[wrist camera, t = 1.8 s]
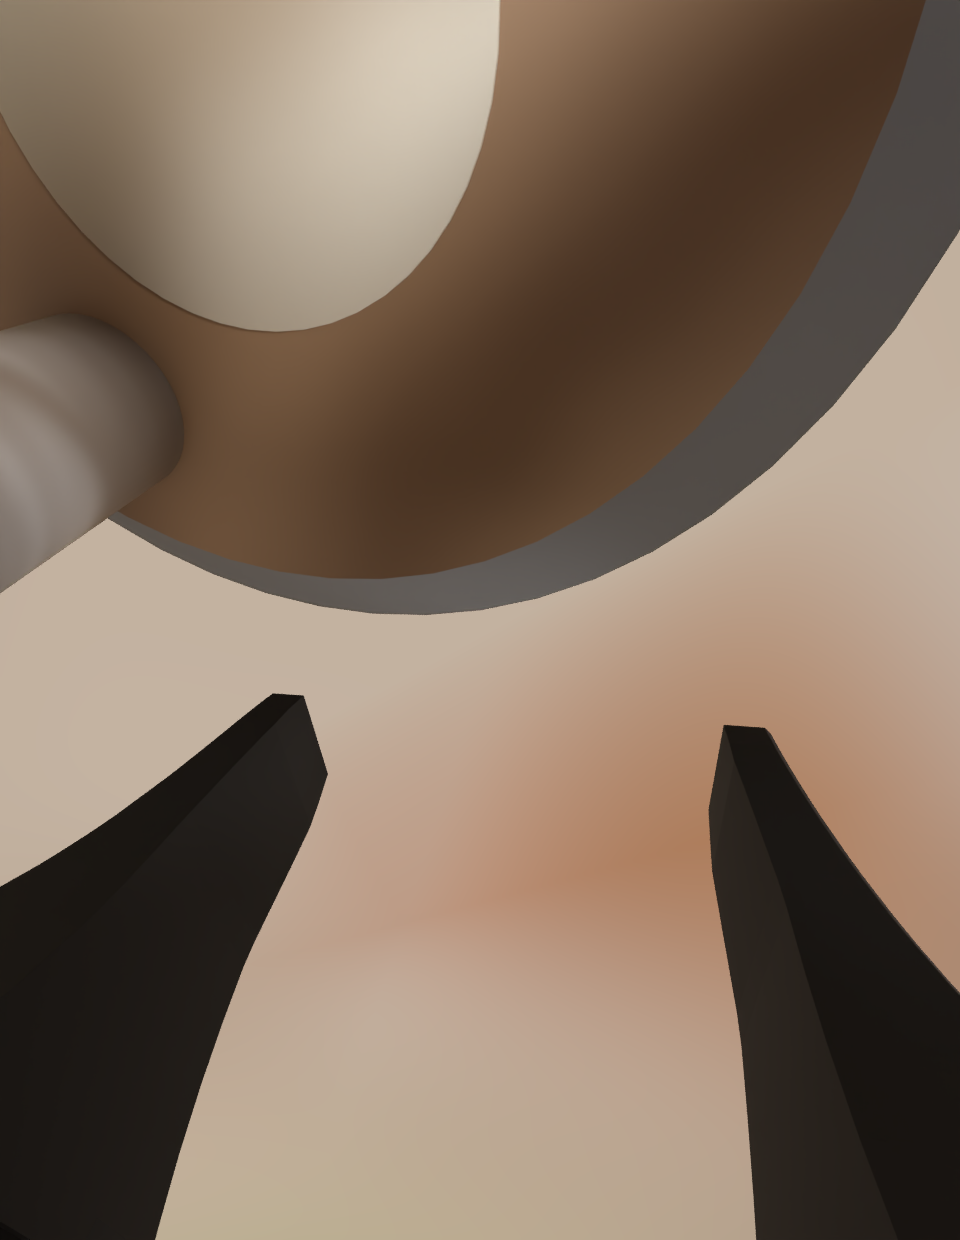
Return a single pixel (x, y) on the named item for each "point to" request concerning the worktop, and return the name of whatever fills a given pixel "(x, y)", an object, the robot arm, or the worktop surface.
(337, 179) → the turntable
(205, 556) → the turntable base
